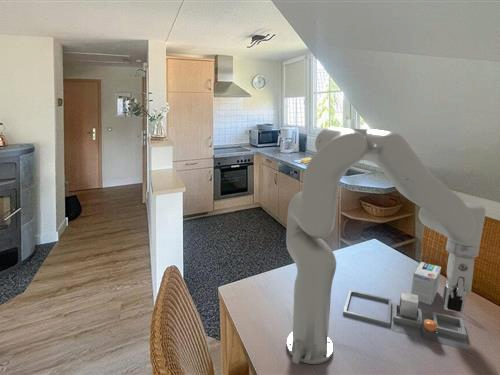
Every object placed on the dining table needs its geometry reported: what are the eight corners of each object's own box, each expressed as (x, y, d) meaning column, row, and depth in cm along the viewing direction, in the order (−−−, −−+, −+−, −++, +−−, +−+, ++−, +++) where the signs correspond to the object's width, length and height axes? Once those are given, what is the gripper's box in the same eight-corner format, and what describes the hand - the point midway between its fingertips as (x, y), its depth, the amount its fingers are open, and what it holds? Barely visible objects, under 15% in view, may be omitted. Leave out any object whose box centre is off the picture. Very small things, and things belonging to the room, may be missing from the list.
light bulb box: (416, 287, 117) (420, 260, 115) (437, 294, 113) (441, 266, 111) (409, 301, 109) (413, 272, 107) (431, 308, 105) (436, 279, 102)
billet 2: (462, 313, 90) (466, 291, 88) (443, 309, 92) (446, 287, 90) (460, 304, 94) (463, 283, 92) (441, 300, 96) (445, 279, 94)
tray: (389, 329, 95) (390, 323, 95) (342, 317, 101) (343, 311, 100) (390, 304, 107) (391, 299, 107) (349, 294, 113) (349, 289, 112)
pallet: (468, 353, 86) (471, 342, 85) (391, 333, 94) (393, 323, 93) (461, 324, 97) (462, 314, 96) (393, 308, 105) (394, 299, 104)
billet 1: (415, 323, 96) (418, 303, 94) (398, 319, 98) (400, 299, 96) (414, 315, 100) (417, 295, 98) (398, 311, 102) (400, 291, 100)
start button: (436, 333, 88) (437, 328, 88) (423, 329, 90) (424, 324, 89) (435, 326, 91) (436, 321, 91) (423, 323, 93) (423, 318, 92)
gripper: (485, 262, 79) (473, 326, 84) (472, 237, 94) (462, 292, 99) (450, 257, 82) (440, 318, 87) (443, 233, 97) (435, 287, 102)
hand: (452, 304), depth 93 cm, fingers closed on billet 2, 4 cm apart
